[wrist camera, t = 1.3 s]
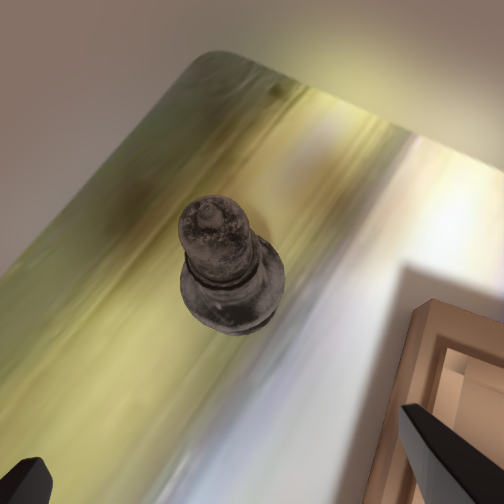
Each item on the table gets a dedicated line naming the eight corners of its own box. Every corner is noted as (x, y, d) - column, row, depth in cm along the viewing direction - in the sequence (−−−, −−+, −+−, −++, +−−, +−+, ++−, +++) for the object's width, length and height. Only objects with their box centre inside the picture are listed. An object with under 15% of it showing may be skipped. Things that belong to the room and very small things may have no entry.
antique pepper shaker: (240, 235, 26) (212, 110, 14) (303, 294, 24) (326, 205, 13) (174, 293, 24) (89, 206, 13) (235, 361, 23) (195, 326, 12)
